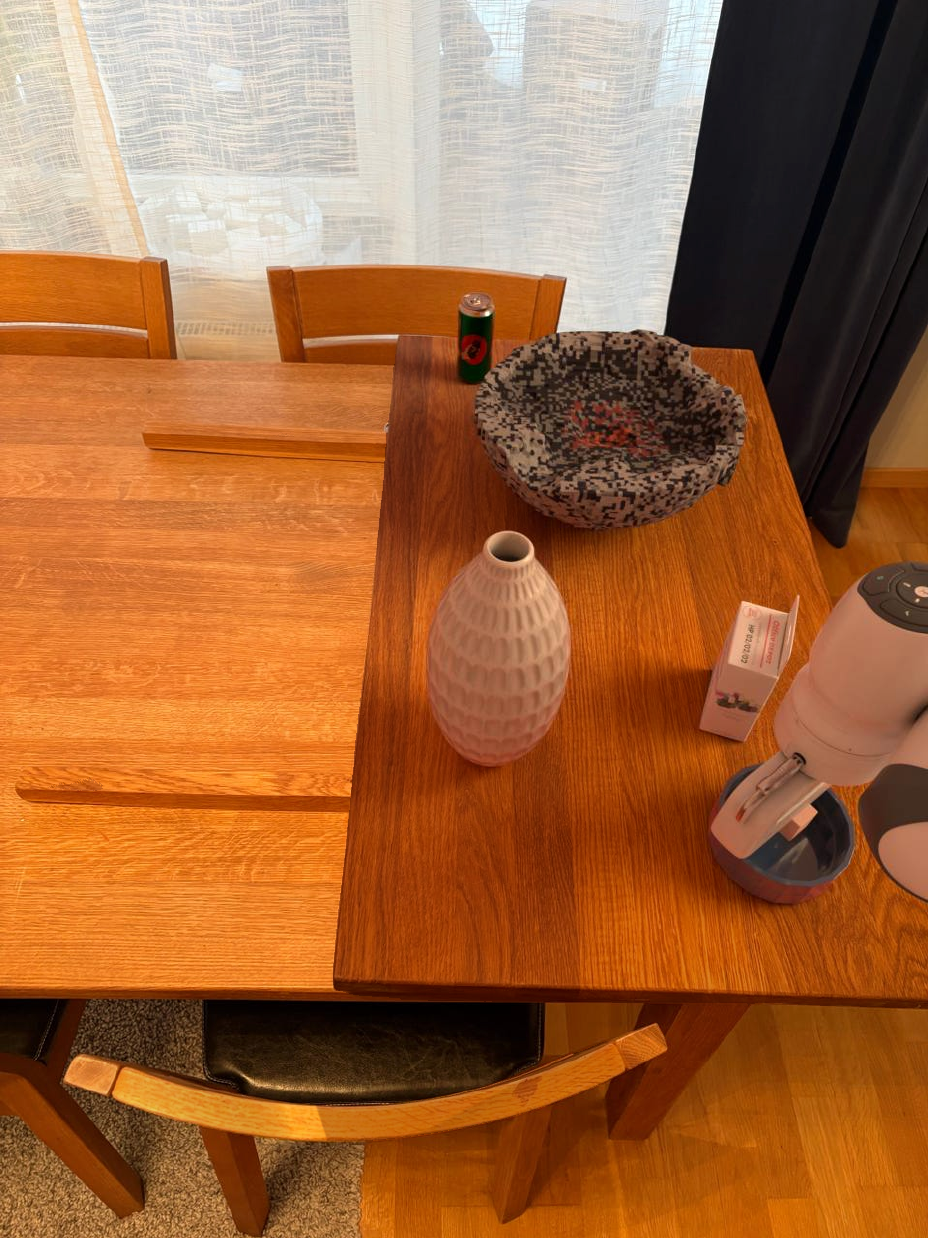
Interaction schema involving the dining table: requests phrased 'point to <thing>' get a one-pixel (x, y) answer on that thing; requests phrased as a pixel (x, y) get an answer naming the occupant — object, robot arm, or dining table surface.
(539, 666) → the vase
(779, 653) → the ink box
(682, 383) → the bowl
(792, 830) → the eraser
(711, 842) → the blue bowl
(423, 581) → the dining table surface
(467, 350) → the soda can
